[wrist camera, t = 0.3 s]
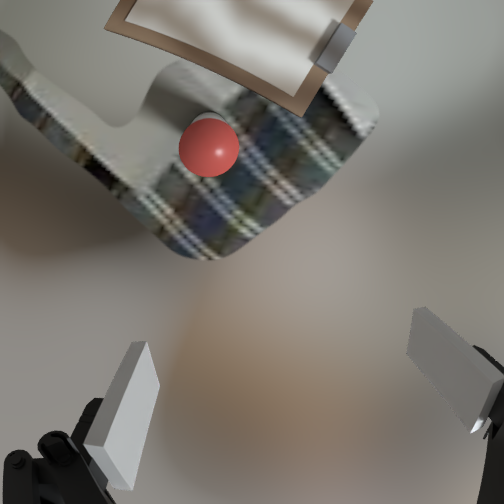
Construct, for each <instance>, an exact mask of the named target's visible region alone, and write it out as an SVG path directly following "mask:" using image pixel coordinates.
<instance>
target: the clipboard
mask: <svg viewBox="0 0 504 504" xmlns="http://www.w3.org/2000/svg"><path fill="white" fill-rule="evenodd" d="M372 3H373V1H372V0H120V2H119V3H118V5H117V6H116V8H115V10H114V11H113V13H112V15H111V17H110V18H109V20H108V22H107V24H106V25H105V27H104V29H105V30H107V31H110V32H113V33H116V34H120V35H122V36H125V37H128V38H131V39H134V40H137V41H140V42H143V43H145V44H148V45H151V46H154V47H156V48H159V49H161V50H164V51H166V52H169V53H172V54H174V55H176V56H179V57H181V58H184V59H186V60H188V61H191V62H193V63H195V64H197V65H200V66H202V67H204V68H206V69H209V70H211V71H213V72H215V73H217V74H219V75H221V76H223V77H226V78H228V79H230V80H232V81H234V82H236V83H238V84H240V85H242V86H244V87H246V88H248V89H249V90H251V91H253V92H255V93H257V94H259V95H261V96H263V97H265V98H266V99H268V100H270V101H272V102H274V103H275V104H277V105H279V106H281V107H283V108H284V109H286V110H288V111H289V112H291V113H293V114H295V115H296V116H298V117H302V116H303V114H304V113H305V111H306V109H307V108H308V106H309V104H310V103H311V101H312V99H313V98H314V96H315V94H316V93H317V91H318V89H319V88H320V86H321V84H322V83H323V81H324V80H325V78H326V76H327V75H328V74H330V73H333V71H334V69H335V68H336V66H337V64H338V63H339V61H340V59H341V58H342V56H343V55H344V53H345V51H346V50H347V48H348V46H349V45H350V43H351V42H352V40H353V39H354V37H355V35H356V32H355V29H356V28H357V26H358V25H359V23H360V21H361V20H362V18H363V17H364V15H365V13H366V12H367V10H368V9H369V7H370V6H371V4H372Z"/></svg>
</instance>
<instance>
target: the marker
mask: <svg viewBox="0 0 504 504" xmlns="http://www.w3.org/2000/svg"><path fill="white" fill-rule="evenodd" d="M238 152H239V142H238V138H237V136H236V134H235V132H234V131H233V129H232V128H231V127H230V126H229V125H228V124H227V123H226V121H225V120H224V118H223V117H222V116H221V115H219V114H218V113H215V112H204V113H201V114H199V115H198V116H197V117H196V118H195V119H194V120H193V122H192V123H191V125H190V126H188V127H187V129H186V130H185V131H184V133H183V134H182V136H181V139H180V142H179V155H180V158H181V160H182V162H183V164H184V165H185V167H186V168H187V169H188V170H190V171H191V172H192V173H194V174H196V175H199V176H204V177H213V176H217V175H220V174H222V173H224V172H226V171H227V170H228V169H229V168H231V166H232V165H233V164H234V162H235V161H236V159H237V156H238Z"/></svg>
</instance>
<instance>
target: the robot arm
mask: <svg viewBox="0 0 504 504" xmlns="http://www.w3.org/2000/svg"><path fill="white" fill-rule="evenodd" d="M406 354H407V355H408V356H409V357H410V359H411V360H412V361H413V362H414V364H415V365H416V366H417V367H418V368H419V370H420V371H421V372H422V373H423V374H424V376H425V377H426V378H427V379H428V380H429V382H430V383H431V384H432V385H433V387H434V388H435V389H436V390H437V392H438V393H439V394H440V395H441V397H442V398H443V399H444V400H445V402H446V403H447V404H448V405H449V407H450V408H451V409H452V410H453V412H454V413H455V414H456V416H457V417H458V418H459V419H460V421H461V422H462V423H463V425H464V426H465V427H466V428H467V430H468V431H469V432H470V433H471V432H474V431H476V430H478V429H480V428H482V427H483V426H484V424H485V422H486V420H487V418H488V417H489V418H490V419H491V420H492V422H491V424H490V426H489V428H488V429H487V431H486V433H485V435H484V437H483V439H485V438H486V437H487V435H488V434H489V435H488V444H487V452H486V459H485V465H484V471H483V476H482V482H481V486H480V491H479V496H478V500H477V504H504V367H503V366H502V365H501V364H499V363H498V362H497V361H495V359H494V358H493V357H490V355H489V354H488V353H487V352H486V351H485V350H484V349H482V348H479V347H477V346H475V345H474V346H471V345H470V344H469V343H468V342H467V341H465V340H464V339H463V338H462V337H461V336H460V335H458V334H457V333H456V332H455V331H454V330H453V329H451V328H450V327H449V326H448V325H447V324H446V323H444V322H443V321H442V320H441V319H440V318H438V317H437V316H436V315H435V314H433V313H432V312H431V311H430V310H429V309H428V308H426V307H421V308H417V309H414V310H413V316H412V323H411V330H410V336H409V343H408V347H407V353H406ZM159 388H160V384H159V382H158V378H157V375H156V372H155V369H154V365H153V361H152V358H151V355H150V351H149V347H148V344H147V341H142V342H141V341H140V342H132V343H131V345H130V347H129V349H128V351H127V352H126V355H125V356H124V358H123V360H122V362H121V364H120V366H119V368H118V371H117V372H116V374H115V376H114V379H113V381H112V383H111V385H110V387H109V389H108V391H107V393H106V395H105V398H94V399H93V400H92V401H90V402H89V403H88V404H87V405H86V407H85V409H84V411H83V413H82V416H81V417H80V419H79V422H78V423H77V425H76V427H75V429H74V431H73V433H72V435H71V437H69V436H68V435H67V433H64V432H62V431H51V432H48V433H47V434H45V435H44V436H43V437H42V438H41V439H40V440H39V442H38V450H39V452H40V453H41V455H42V456H43V457H44V458H37V459H36V458H35V459H33V458H32V457H31V455H30V454H29V453H28V452H27V451H25V450H15V451H12V452H11V453H9V454H8V455H7V457H6V458H5V461H4V471H3V504H116V503H115V501H114V500H113V498H112V497H111V495H110V494H109V492H108V491H107V489H106V486H107V483H108V481H109V483H110V484H111V485H112V486H113V488H114V489H120V490H129V491H133V487H134V483H135V478H136V475H137V470H138V466H139V462H140V458H141V454H142V450H143V446H144V443H145V439H146V435H147V431H148V427H149V424H150V420H151V416H152V413H153V409H154V405H155V402H156V398H157V395H158V391H159Z"/></svg>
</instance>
